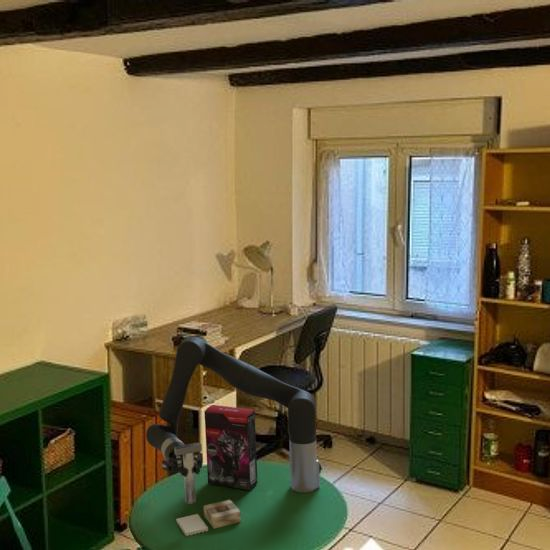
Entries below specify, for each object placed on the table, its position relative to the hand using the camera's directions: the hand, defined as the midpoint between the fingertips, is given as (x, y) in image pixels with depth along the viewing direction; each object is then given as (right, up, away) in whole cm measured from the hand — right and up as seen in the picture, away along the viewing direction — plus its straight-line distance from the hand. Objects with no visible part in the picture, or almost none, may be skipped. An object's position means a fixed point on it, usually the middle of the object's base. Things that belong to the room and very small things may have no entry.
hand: (191, 472), depth 217 cm
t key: (-1, -10, +4) cm, 11 cm away
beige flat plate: (-1, -18, +5) cm, 19 cm away
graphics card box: (+10, -14, +34) cm, 38 cm away
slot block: (+9, -17, +9) cm, 22 cm away
